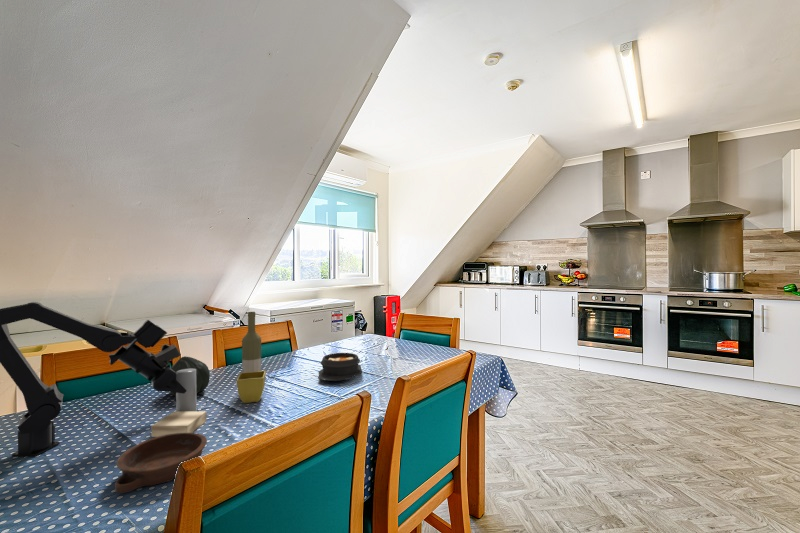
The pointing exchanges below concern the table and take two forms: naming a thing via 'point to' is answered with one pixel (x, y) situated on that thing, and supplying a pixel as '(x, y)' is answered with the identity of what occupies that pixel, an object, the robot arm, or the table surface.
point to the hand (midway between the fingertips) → (182, 388)
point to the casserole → (339, 367)
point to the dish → (157, 460)
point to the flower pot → (251, 386)
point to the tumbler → (189, 383)
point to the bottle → (251, 347)
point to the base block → (179, 423)
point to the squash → (201, 371)
